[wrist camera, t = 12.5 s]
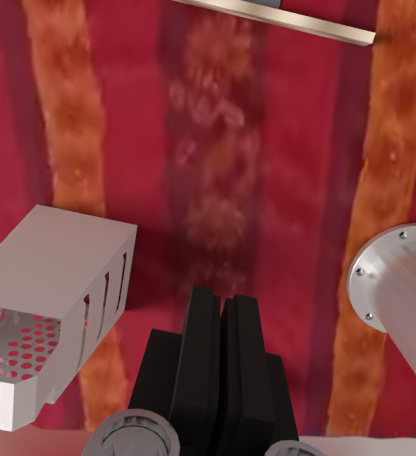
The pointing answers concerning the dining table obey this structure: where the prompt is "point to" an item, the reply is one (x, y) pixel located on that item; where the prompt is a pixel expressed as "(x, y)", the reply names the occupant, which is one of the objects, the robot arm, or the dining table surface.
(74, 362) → the grater
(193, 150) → the dining table surface
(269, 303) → the dining table surface
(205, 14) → the dining table surface
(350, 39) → the channel
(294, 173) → the dining table surface
